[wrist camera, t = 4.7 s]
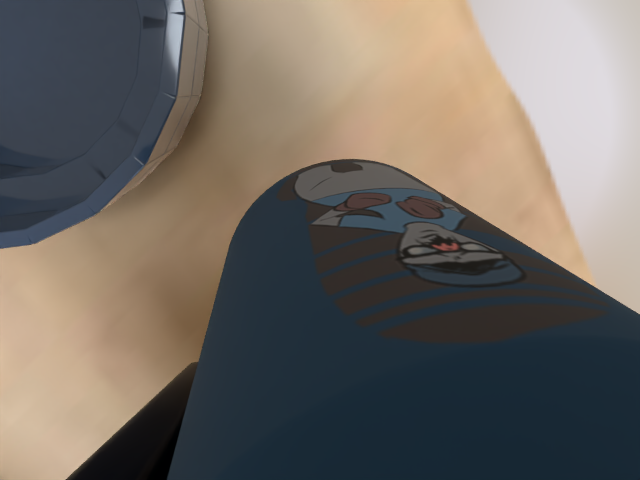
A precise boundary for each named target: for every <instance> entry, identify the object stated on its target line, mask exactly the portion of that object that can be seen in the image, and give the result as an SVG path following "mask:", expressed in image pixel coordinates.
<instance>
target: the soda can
mask: <svg viewBox="0 0 640 480" xmlns="http://www.w3.org/2000/svg"><path fill="white" fill-rule="evenodd" d="M167 480H640V314H638V313H636V312H635V311H633V310H631V309H630V308H628V307H626V306H625V305H623V304H621V303H620V302H618V301H617V300H615V299H613V298H612V297H610V296H609V295H607V294H605V293H604V292H602V291H600V290H599V289H597V288H595V287H594V286H592V285H590V284H589V283H587V282H586V281H584V280H582V279H581V278H579V277H577V276H576V275H574V274H572V273H571V272H569V271H568V270H566V269H564V268H563V267H561V266H559V265H558V264H556V263H554V262H553V261H551V260H550V259H548V258H546V257H545V256H543V255H541V254H540V253H538V252H536V251H535V250H533V249H531V248H530V247H528V246H527V245H525V244H523V243H522V242H520V241H518V240H517V239H515V238H513V237H512V236H510V235H509V234H507V233H505V232H504V231H502V230H500V229H499V228H497V227H495V226H494V225H492V224H490V223H489V222H487V221H486V220H484V219H482V218H481V217H479V216H477V215H476V214H474V213H472V212H471V211H469V210H468V209H466V208H464V207H463V206H461V205H459V204H458V203H456V202H454V201H453V200H451V199H450V198H448V197H446V196H445V195H443V194H441V193H440V192H438V191H436V190H435V189H433V188H431V187H430V186H428V185H427V184H425V183H423V182H422V181H420V180H418V179H417V178H415V177H413V176H412V175H410V174H408V173H406V172H404V171H402V170H400V169H398V168H395V167H393V166H390V165H387V164H384V163H379V162H375V161H369V160H359V159H342V160H332V161H327V162H322V163H318V164H314V165H311V166H308V167H305V168H303V169H300V170H298V171H296V172H294V173H292V174H290V175H288V176H286V177H284V178H283V179H281V180H280V181H278V182H277V183H275V184H274V185H273V186H271V187H270V188H269V189H267V190H266V191H265V192H264V193H263V194H262V195H261V196H260V197H259V198H258V199H257V200H256V201H255V202H254V203H253V204H252V205H251V207H250V208H249V209H248V210H247V212H246V213H245V215H244V216H243V218H242V219H241V221H240V223H239V225H238V226H237V228H236V230H235V233H234V235H233V237H232V240H231V243H230V245H229V249H228V253H227V257H226V260H225V264H224V268H223V272H222V275H221V279H220V283H219V287H218V290H217V294H216V298H215V301H214V305H213V309H212V313H211V316H210V320H209V324H208V328H207V331H206V335H205V339H204V343H203V346H202V350H201V354H200V358H199V361H198V365H197V369H196V373H195V376H194V380H193V384H192V388H191V391H190V395H189V399H188V403H187V406H186V410H185V414H184V418H183V421H182V425H181V429H180V432H179V436H178V440H177V444H176V447H175V451H174V455H173V459H172V462H171V466H170V470H169V474H168V477H167Z"/></svg>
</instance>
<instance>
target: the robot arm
mask: <svg viewBox="0 0 640 480" xmlns="http://www.w3.org/2000/svg"><path fill="white" fill-rule="evenodd" d="M197 365H198V362H193V363H191V364H189V365H188V366H187V367H186V368H185V369H184V370H183V371H182V372H181V373H180V374H179V375H178V376H176V377H175V378H174V379H173V380H172V381H171V382H170V383H169V384H168V385H167V386H166V387H165V388H164V389H162V390H161V391H160V392H159V393H158V394H157V395H156V396H155V397H154V398H153V399H152V400H151V401H150V402H149V403H147V404H146V405H145V406H144V407H143V408H142V409H141V410H140V411H139V412H138V413H137V414H136V415H135V416H133V417H132V418H131V419H130V420H129V421H128V422H127V423H126V424H125V425H124V426H123V427H122V428H121V429H120V430H118V431H117V432H116V433H115V434H114V435H113V436H112V437H111V438H110V439H109V440H108V441H107V442H106V443H104V444H103V445H102V446H101V447H100V448H99V449H98V450H97V451H96V452H95V453H94V454H93V455H92V456H90V457H89V458H88V459H87V460H86V461H85V462H84V463H83V464H82V465H81V466H80V467H79V468H78V469H77V470H75V471H74V472H73V473H72V474H71V475H70V476H69V477H68V478H67V479H66V480H167V477H168V474H169V470H170V466H171V462H172V459H173V455H174V451H175V447H176V444H177V440H178V436H179V432H180V429H181V425H182V421H183V418H184V414H185V410H186V406H187V403H188V399H189V395H190V391H191V388H192V384H193V380H194V376H195V373H196V369H197Z"/></svg>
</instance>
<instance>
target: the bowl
mask: <svg viewBox="0 0 640 480" xmlns="http://www.w3.org/2000/svg"><path fill="white" fill-rule="evenodd" d="M208 33H209V31H208V26H207V20H206V14H205V8H204V2H203V0H0V249H3V248H10V247H18V246H26V245H32V244H36V243H38V242H40V241H42V240H44V239H46V238H49V237H51V236H53V235H55V234H57V233H59V232H61V231H63V230H65V229H68V228H70V227H72V226H74V225H76V224H78V223H80V222H82V221H85V220H87V219H89V218H91V217H93V216H95V215H97V214H98V213H99V212H101V211H102V210H104V209H105V208H106V207H108V206H109V205H111V204H112V203H113V202H115V201H116V200H118V199H119V198H120V197H122V196H123V195H125V194H126V193H127V192H129V191H130V190H132V189H133V188H134V187H136V186H137V185H139V184H140V183H141V182H142V181H143V180H144V179H145V178H146V177H147V176H148V175H149V174H150V173H151V172H152V171H153V170H154V169H155V168H156V167H157V166H158V165H159V164H160V163H161V162H162V161H163V160H164V159H165V158H166V157H167V156H168V155H169V154H170V153H171V152H172V151H173V150H174V149H175V148H176V147H177V145H178V144H179V142H180V140H181V138H182V136H183V134H184V132H185V129H186V127H187V125H188V123H189V121H190V119H191V117H192V115H193V113H194V111H195V108H196V106H197V104H198V102H199V100H200V98H201V96H200V95H201V94H202V87H203V79H204V71H205V63H206V54H207V46H208V38H209V36H208Z"/></svg>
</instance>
